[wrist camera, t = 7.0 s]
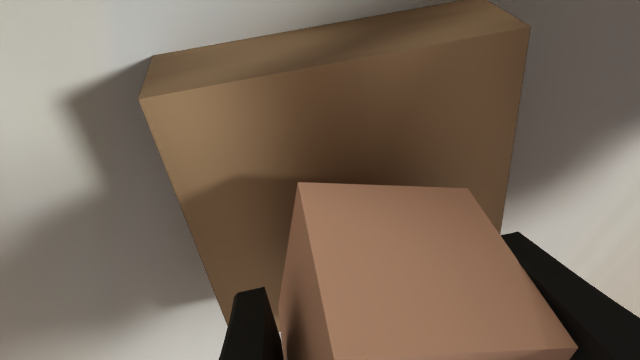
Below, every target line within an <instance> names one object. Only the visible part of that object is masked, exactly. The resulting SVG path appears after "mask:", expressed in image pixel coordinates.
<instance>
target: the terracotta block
mask: <svg viewBox="0 0 640 360" xmlns="http://www.w3.org/2000/svg"><path fill="white" fill-rule="evenodd" d="M278 310H279V319H280V329H281V338H282V348H283V356H284V360H569V359H570V358H571V357H572V355H573V354H574V353H575V351H576V350H577V349H578V346H577V345H576V344H575V342H574V341H573V339H572V338H571V336H570V335H569V333H568V332H567V331H566V329H565V328H564V326H563V325H562V323H561V322H560V320H559V319H558V318H557V316H556V315H555V313H554V312H553V310H552V309H551V308H550V306H549V305H548V303H547V302H546V300H545V299H544V297H543V296H542V295H541V293H540V292H539V290H538V289H537V287H536V286H535V284H534V283H533V282H532V280H531V279H530V277H529V276H528V274H527V273H526V272H525V270H524V269H523V268H522V266H521V265H520V264H519V261H518V260H517V259H516V257H515V256H514V254H513V253H512V251H511V250H510V248H509V247H508V246H507V244H506V243H505V241H504V240H503V238H502V237H501V236H500V234H499V233H498V231H497V230H496V228H495V227H494V225H493V224H492V223H491V221H490V220H489V218H488V217H487V215H486V214H485V212H484V211H483V210H482V208H481V207H480V205H479V204H478V202H477V201H476V200H475V198H474V197H473V195H472V194H471V192H470V191H469V189H468V188H446V187H418V186H391V185H363V184H336V183H309V182H298V184H297V190H296V197H295V203H294V209H293V216H292V222H291V228H290V235H289V241H288V248H287V254H286V260H285V267H284V273H283V279H282V286H281V292H280V298H279V305H278Z"/></svg>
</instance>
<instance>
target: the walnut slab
mask: <svg viewBox="0 0 640 360" xmlns="http://www.w3.org/2000/svg"><path fill="white" fill-rule="evenodd" d="M530 28H531V26H529V25H527V24H526V23H524V22H522V21H521V20H519V19H517V18H516V17H514V16H512V15H511V14H509V13H507V12H506V11H504V10H502V9H501V8H499V7H497V6H496V5H494V4H492V3H491V2H489V1H487V0H461V1H455V2H450V3H444V4H439V5H433V6H427V7H422V8H416V9H411V10H405V11H399V12H394V13H388V14H383V15H377V16H372V17H366V18H360V19H355V20H349V21H344V22H338V23H332V24H327V25H321V26H316V27H310V28H305V29H299V30H293V31H288V32H282V33H277V34H271V35H265V36H260V37H254V38H249V39H243V40H237V41H232V42H226V43H221V44H215V45H210V46H204V47H198V48H193V49H187V50H182V51H176V52H170V53H165V54H159V55H154V56H152V59H151V62H150V65H149V68H148V71H147V74H146V77H145V80H144V83H143V86H142V89H141V92H140V95H139V98H138V100H139V102H140V105H141V107H142V110H143V113H144V115H145V118H146V120H147V123H148V125H149V128H150V130H151V133H152V135H153V138H154V140H155V143H156V146H157V148H158V151H159V153H160V156H161V158H162V161H163V163H164V166H165V168H166V171H167V173H168V176H169V178H170V181H171V184H172V186H173V189H174V191H175V194H176V196H177V199H178V201H179V204H180V206H181V209H182V211H183V214H184V217H185V219H186V222H187V224H188V227H189V229H190V232H191V234H192V237H193V239H194V242H195V244H196V247H197V250H198V252H199V255H200V257H201V260H202V262H203V265H204V267H205V270H206V272H207V275H208V277H209V280H210V283H211V285H212V288H213V290H214V293H215V295H216V298H217V300H218V303H219V305H220V308H221V310H222V313H223V316H224V318H225V321H226V323H227V326H228V324H229V320H230V315H231V311H232V305H233V299H234V296H235V295H236V294H237V293H238V292H243V291H247V290H252V289H256V288H261V287H265V290H266V293H267V296H268V299H269V303H270V306H271V309H272V313H273V316H274V319H275V322H276V326H277V329H278V332H280V331H281V329H280V319H279V310H278V305H279V298H280V292H281V286H282V279H283V273H284V267H285V260H286V254H287V248H288V241H289V235H290V228H291V222H292V216H293V209H294V203H295V197H296V190H297V184H298V182H309V183H336V184H363V185H391V186H418V187H446V188H468V189H469V191H470V192H471V194H472V195H473V197H474V198H475V200H476V201H477V202H478V204H479V205H480V207H481V208H482V210H483V211H484V212H485V214H486V215H487V217H488V218H489V220H490V221H491V223H492V224H493V225H494V227H495V228H496V230H497V231H498V233H499V234H500V232H501V225H502V218H503V211H504V204H505V198H506V191H507V184H508V177H509V171H510V164H511V157H512V150H513V143H514V137H515V130H516V123H517V116H518V110H519V103H520V96H521V89H522V83H523V76H524V69H525V62H526V55H527V49H528V42H529V35H530Z"/></svg>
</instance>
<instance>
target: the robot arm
mask: <svg viewBox="0 0 640 360" xmlns="http://www.w3.org/2000/svg"><path fill="white" fill-rule="evenodd" d="M501 237H502V238H503V240H504V241H505V243H506V244H507V246H508V247H509V248H510V250H511V251H512V253H513V254H514V256H515V257H516V259H517V260H518V261H519V264H520V265H521V266H522V268H523V269H524V270H525V272H526V273H527V274H528V276H529V277H530V279H531V280H532V282H533V283H534V284H535V286H536V287H537V289H538V290H539V292H540V293H541V295H542V296H543V297H544V299H545V300H546V302H547V303H548V305H549V306H550V308H551V309H552V310H553V312H554V313H555V315H556V316H557V318H558V319H559V320H560V322H561V323H562V325H563V326H564V328H565V329H566V331H567V332H568V333H569V335H570V336H571V338H572V339H573V341H574V342H575V344H576V345H577V346H578V349H577V350H576V351H575V353H574V354H573V355H572V357H571V358H570V359H569V360H640V318H639V317H637V316H636V315H634V314H633V313H631V312H630V311H628V310H627V309H625V308H624V307H622V306H621V305H619V304H618V303H616V302H615V301H613V300H612V299H611V298H609V297H608V296H606V295H605V294H603V293H602V292H600V291H599V290H598V289H596V288H595V287H593V286H592V285H590V284H589V283H588V282H586V281H585V280H583V279H582V278H581V277H579V276H578V275H576V274H575V273H574V272H572V271H571V270H570V269H568V268H567V267H565V266H564V265H563V264H561V263H560V262H559V261H557V260H556V259H555V258H553V257H552V256H551V255H549V254H548V253H547V252H545V251H544V250H542V249H541V248H540V247H538V246H537V245H536V244H534V243H533V242H532V241H530V240H529V239H528V238H526V237H525V236H523V235H522V234H521V233H519V232H514V233H510V234H505V235H501ZM219 360H284V356H283V350H282V343H281V339H280V335H279V332H278V329H277V326H276V322H275V319H274V316H273V313H272V309H271V306H270V303H269V299H268V296H267V293H266V290H265V287H261V288H256V289H252V290H247V291H243V292H238V293H237V294H236V295H235V296H234V299H233V305H232V311H231V315H230V320H229V324H228V328H227V332H226V336H225V340H224V343H223V347H222V351H221V354H220V357H219Z"/></svg>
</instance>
